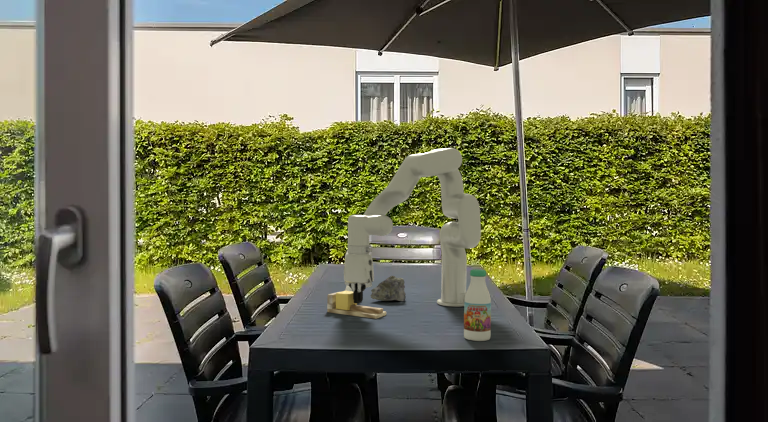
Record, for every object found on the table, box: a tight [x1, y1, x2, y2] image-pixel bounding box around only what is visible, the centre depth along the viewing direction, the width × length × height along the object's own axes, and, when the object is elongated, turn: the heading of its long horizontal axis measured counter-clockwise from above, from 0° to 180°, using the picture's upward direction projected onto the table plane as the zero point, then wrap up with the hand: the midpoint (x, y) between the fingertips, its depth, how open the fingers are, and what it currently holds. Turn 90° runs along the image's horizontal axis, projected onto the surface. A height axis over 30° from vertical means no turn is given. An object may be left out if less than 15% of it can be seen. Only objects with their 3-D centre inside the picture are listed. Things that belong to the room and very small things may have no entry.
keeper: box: [335, 290, 358, 310], centre depth 198 cm, size 5×6×6 cm
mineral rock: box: [370, 275, 407, 302], centre depth 220 cm, size 13×11×10 cm
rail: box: [326, 291, 387, 320], centre depth 196 cm, size 20×7×6 cm, turn 60°
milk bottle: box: [463, 269, 492, 342], centre depth 163 cm, size 8×8×20 cm
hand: (357, 302), depth 195 cm, fingers closed
